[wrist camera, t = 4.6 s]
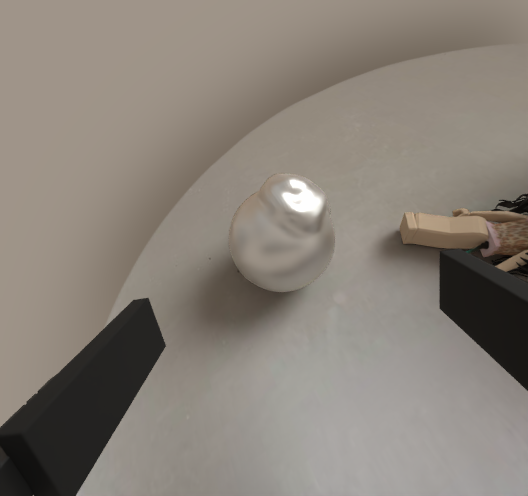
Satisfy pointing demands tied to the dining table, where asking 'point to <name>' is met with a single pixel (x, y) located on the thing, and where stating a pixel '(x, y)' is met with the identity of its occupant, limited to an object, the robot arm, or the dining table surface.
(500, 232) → the toy figure
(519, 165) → the dining table surface
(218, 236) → the dining table surface
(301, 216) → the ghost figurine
